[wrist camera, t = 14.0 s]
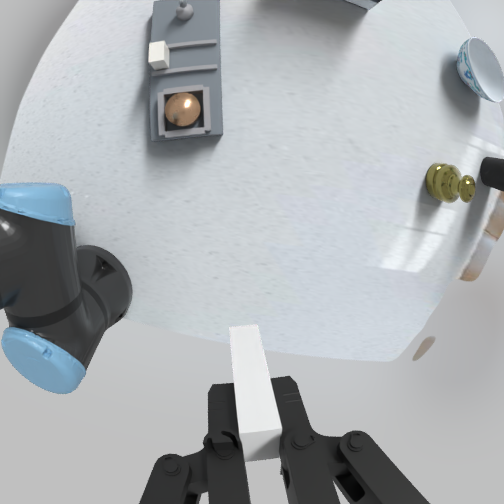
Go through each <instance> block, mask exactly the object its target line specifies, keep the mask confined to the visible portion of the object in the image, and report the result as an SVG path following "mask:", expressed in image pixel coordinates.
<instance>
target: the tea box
mask: <svg viewBox="0 0 504 504" xmlns="http://www.w3.org/2000/svg"><path fill="white" fill-rule="evenodd" d="M345 1H348V2H351V3H353V4H356V5H358V6H361V7H363V8H366V9H368V10H370V9H371V8H372V7H374V6H375V5H376V4H378V3H379V2H380V1H381V0H345Z"/></svg>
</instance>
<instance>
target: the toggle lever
mask: <svg viewBox="0 0 504 504" xmlns="http://www.w3.org/2000/svg"><path fill="white" fill-rule="evenodd" d="M179 4H180V7H181V8H185V7H186V6H187V0H179Z"/></svg>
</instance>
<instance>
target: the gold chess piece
mask: <svg viewBox="0 0 504 504" xmlns="http://www.w3.org/2000/svg"><path fill="white" fill-rule="evenodd" d="M426 186H427V190H428V192H429V194H430V195H431V196H432V197H433V198H435V199H438V200H440V201H444V202H446V203H453V202H455V201H456V200H457V199H458V198H459V196H460V198H461V200H462V201H463V202H466V203H468V202H470V201H471V200H472V199H473V197H474V195H475V181H474V179H473V178H472V177H471V176H470V175H465V176H464V177H463V178H462V176H461V173H460V171H459V170H458V168H457V167H455V166H454V165H447V164H442V163H435V164H433V165H432V166H431V167H430V169H429V170H428V173H427V177H426Z"/></svg>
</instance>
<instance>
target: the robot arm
mask: <svg viewBox="0 0 504 504" xmlns="http://www.w3.org/2000/svg"><path fill="white" fill-rule="evenodd" d="M74 225H75V221H74V220H73V212H72V202H71V195H70V193H69V191H68V189H67V188H66V187H65V186H63V185H60V184H55V183H6V184H0V309H3V308H4V310H5V313H6V316H7V319H8V322H9V328H6V329H5V330H4V334H3V337H2V340H1V341H2V342H1V343H2V348H3V350H4V353H5V355H6V357H7V358H8V360H9V361H10V362H11V364H12V365H13V366H14V367H15V368H16V370H17V371H18V372H19V373H20V374H22V375H23V376H24V377H25V378H26V379H28V380H29V381H30V382H32V383H33V384H35V385H37V386H38V387H40V388H42V389H44V390H47V391H50V392H53V393H57V394H67V393H71V392H72V391H74V390H75V389H76V388H77V387H78V385H79V384H80V382H81V380H82V379H83V377H85V375H86V370H87V368H88V365H89V363H90V361H91V359H92V357H93V355H94V352H95V350H96V348H97V346H98V344H99V342H100V340H101V338H102V336H103V334H104V332H105V330H107V329H108V328H109V327H111V326H112V325H114V324H115V323H116V322H118V321H119V320H121V319H122V317H123V316H124V315H125V313H126V312H127V310H128V308H129V306H130V303H131V300H132V284H131V280H130V278H129V275H128V273H127V271H126V269H125V268H124V266H123V265H122V264H121V262H120V261H119V260H118V259H117V258H116V257H115V256H114V255H112V254H111V253H110V252H108V251H106V250H104V249H102V248H100V247H97V246H91V245H84V246H79V247H77V248H76V241H75V229H74ZM229 331H230V343H231V354H232V366H233V378H234V383H226V384H213V385H212V387H211V388H210V390H209V392H208V434H207V435H206V436H205V437H204V441H203V445H204V448H203V449H202V450H201V451H199V452H197V453H194V454H191V455H187V456H184V457H182V456H179V455H177V454H167V455H163V456H162V457H160V458H158V460H157V461H156V463H155V465H154V467H153V470H152V472H151V475H150V477H149V480H148V483H147V485H146V488H145V490H144V493H143V495H142V498H141V500H140V503H139V504H199V501H200V497H201V494H202V493H205V492H208V494H209V504H251V502H250V495H249V488H248V482H247V474H246V467H245V462H248V461H257V460H266V459H273V458H279V455H280V459H281V471H280V472H281V473H280V474H281V475H283V480H284V484H285V488H286V493H287V498H288V502H289V504H340V501H339V499H338V495H337V492H336V489H335V486H334V483H333V481H334V482H335V484H336V485H337V487H338V488H339V489H340V491H341V492H342V494H343V495H344V496H345V498H346V499H347V500H348V502H349V503H350V504H430V503H429V502H428V501H427V500H426V499H425V498H424V497H423V496H422V495H421V493H420V492H419V491H418V490H417V489H416V488H415V487H414V486H413V485H412V483H411V482H410V481H409V480H408V479H407V478H406V477H405V476H404V475H403V474H402V472H401V471H400V470H399V469H398V468H397V467H396V466H395V464H394V463H393V462H392V461H391V460H390V459H389V458H388V457H387V455H386V454H385V453H384V452H383V451H382V450H381V449H380V447H379V446H378V445H377V444H376V443H375V442H374V440H373V439H372V438H371V437H370V436H369V435H368V434H366V433H365V432H362V431H351V432H348V433H346V434H345V435H344V436H342V437H329V436H323V435H320V434H318V433H316V432H315V431H314V430H313V429H312V427H311V425H310V423H309V420H308V417H307V414H306V411H305V408H304V405H303V402H302V399H301V396H300V393H299V390H298V386H297V383H296V382H295V381H294V380H293V379H292V378H291V377H290V376H285V377H278V378H271V379H270V375H269V371H268V367H267V363H266V358H265V354H264V350H263V345H262V341H261V337H260V332H259V328H258V324H255V325H244V326H233V327H229Z"/></svg>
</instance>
